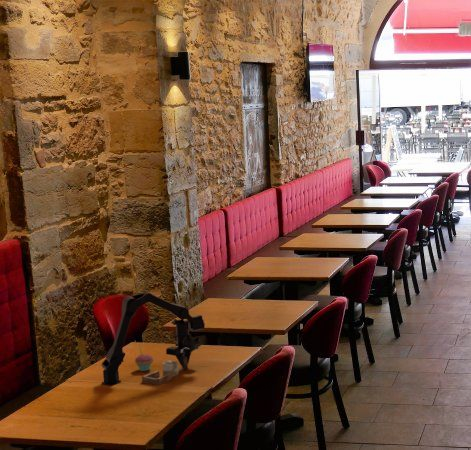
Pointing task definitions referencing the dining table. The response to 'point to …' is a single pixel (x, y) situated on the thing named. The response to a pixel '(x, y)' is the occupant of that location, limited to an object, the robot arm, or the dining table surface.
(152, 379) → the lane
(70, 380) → the dining table surface
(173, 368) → the block with cord
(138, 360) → the cupcake
